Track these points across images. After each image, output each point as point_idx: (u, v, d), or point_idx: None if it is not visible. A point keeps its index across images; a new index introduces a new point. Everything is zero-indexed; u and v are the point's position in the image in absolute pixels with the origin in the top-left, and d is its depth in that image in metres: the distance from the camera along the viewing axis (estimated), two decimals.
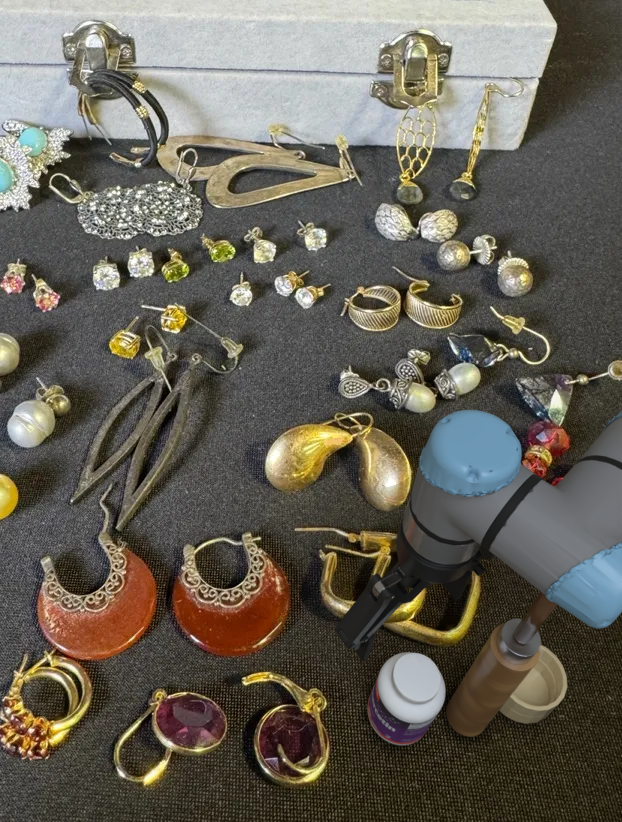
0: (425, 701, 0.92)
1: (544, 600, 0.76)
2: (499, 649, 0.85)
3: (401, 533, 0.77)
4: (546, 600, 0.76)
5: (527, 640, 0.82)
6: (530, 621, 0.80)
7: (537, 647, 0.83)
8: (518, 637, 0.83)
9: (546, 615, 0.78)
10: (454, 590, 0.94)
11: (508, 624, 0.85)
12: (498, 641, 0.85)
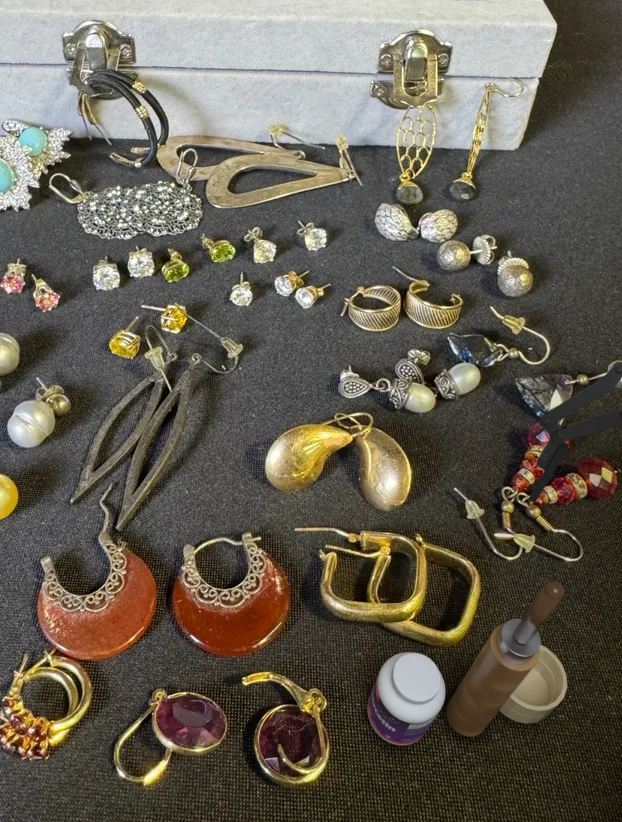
0: (425, 701, 0.92)
1: (544, 600, 0.76)
2: (499, 649, 0.85)
3: None
4: (546, 600, 0.76)
5: (527, 640, 0.82)
6: (530, 621, 0.80)
7: (537, 647, 0.83)
8: (518, 637, 0.83)
9: (546, 615, 0.78)
10: None
11: (508, 624, 0.85)
12: (498, 641, 0.85)
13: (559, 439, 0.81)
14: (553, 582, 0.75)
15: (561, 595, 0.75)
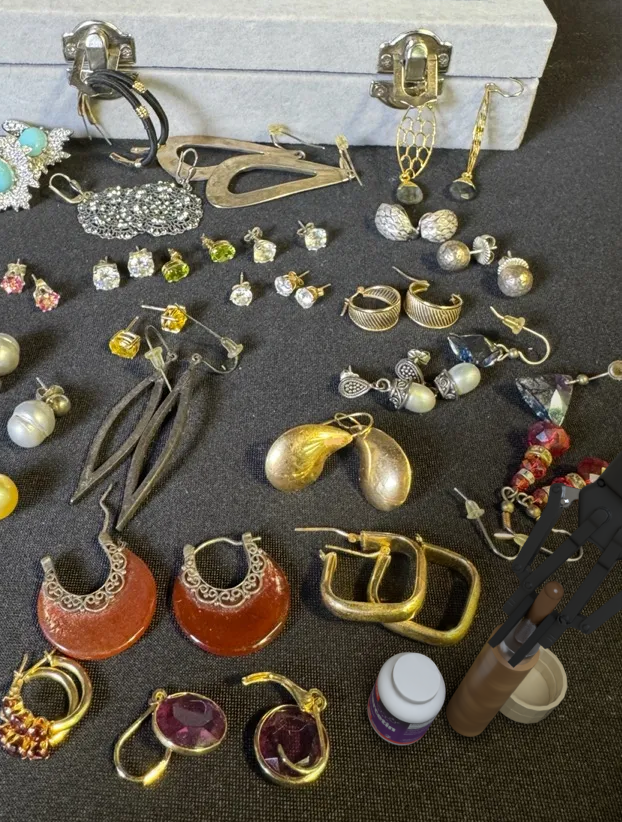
0: (425, 701, 0.92)
1: (544, 600, 0.76)
2: (499, 649, 0.85)
3: None
4: (546, 600, 0.76)
5: None
6: (530, 621, 0.80)
7: (537, 647, 0.83)
8: (518, 637, 0.83)
9: (546, 615, 0.78)
10: None
11: None
12: None
13: (529, 587, 0.79)
14: (553, 582, 0.75)
15: (561, 595, 0.75)
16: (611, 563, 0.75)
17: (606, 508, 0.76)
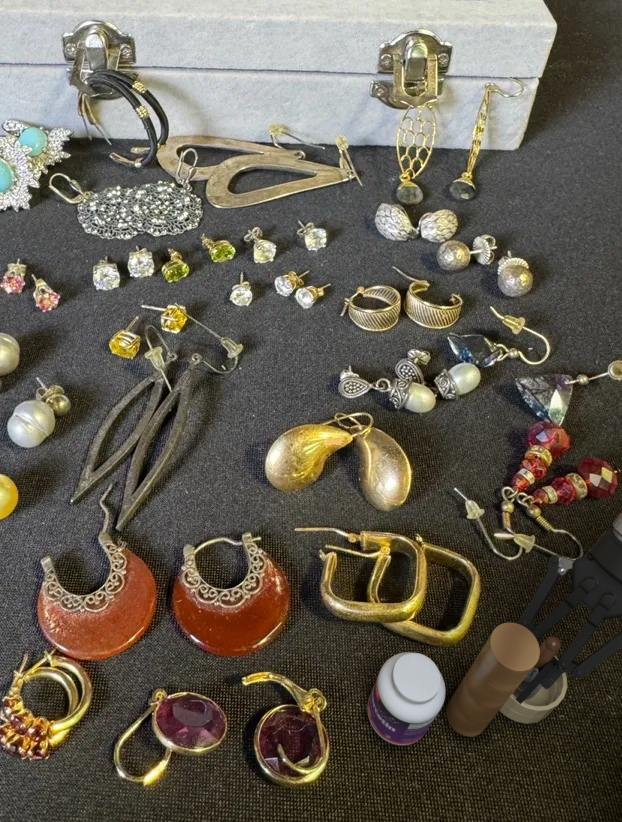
0: (425, 701, 0.92)
1: (545, 651, 0.95)
2: None
3: None
4: (546, 651, 0.95)
5: (531, 680, 1.02)
6: (534, 666, 0.99)
7: (540, 685, 1.03)
8: None
9: (547, 662, 0.97)
10: None
11: None
12: None
13: None
14: (552, 637, 0.94)
15: (558, 648, 0.94)
16: (598, 622, 0.94)
17: (594, 577, 0.95)
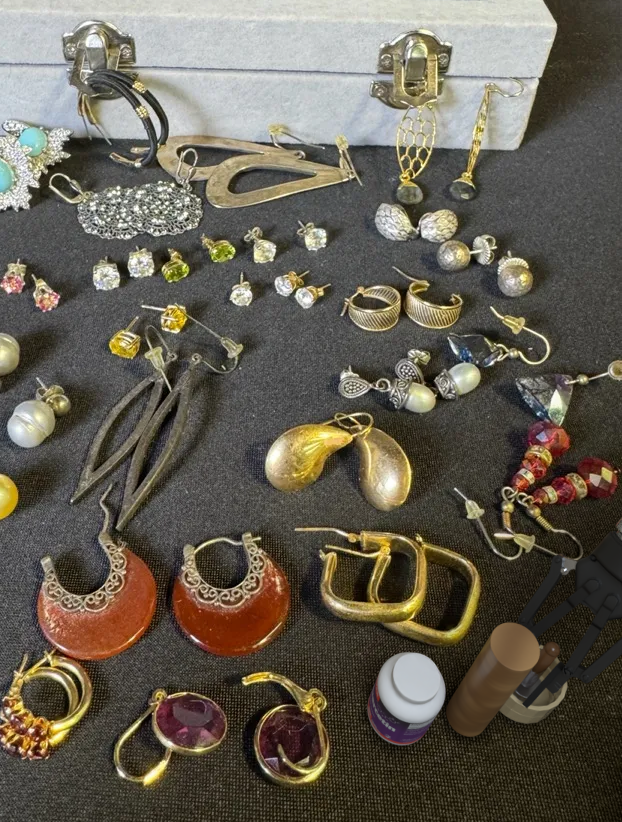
0: (425, 701, 0.92)
1: (544, 656, 0.96)
2: None
3: None
4: (546, 657, 0.96)
5: (530, 685, 1.02)
6: (533, 671, 0.99)
7: None
8: (523, 682, 1.03)
9: (546, 667, 0.98)
10: None
11: None
12: None
13: None
14: (551, 642, 0.95)
15: (558, 653, 0.95)
16: (603, 624, 0.94)
17: (598, 579, 0.95)
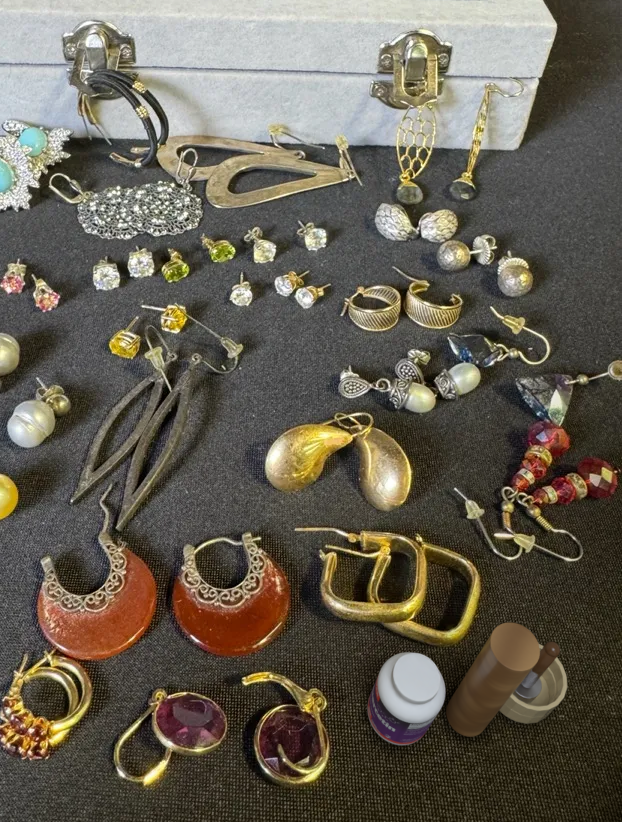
0: (425, 701, 0.92)
1: (544, 656, 0.96)
2: None
3: None
4: (546, 657, 0.96)
5: (530, 685, 1.02)
6: (533, 671, 0.99)
7: (539, 690, 1.03)
8: (523, 682, 1.03)
9: (546, 667, 0.98)
10: None
11: None
12: None
13: None
14: (551, 642, 0.95)
15: (558, 653, 0.95)
16: None
17: None
